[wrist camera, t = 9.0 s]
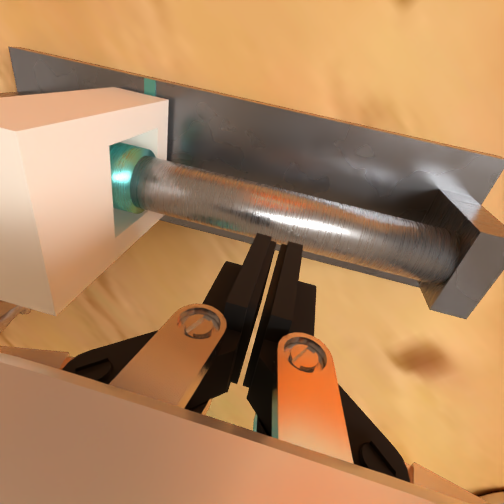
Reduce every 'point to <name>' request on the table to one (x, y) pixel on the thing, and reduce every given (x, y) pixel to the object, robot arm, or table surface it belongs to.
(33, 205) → the collar
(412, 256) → the pipe rail
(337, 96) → the table surface
